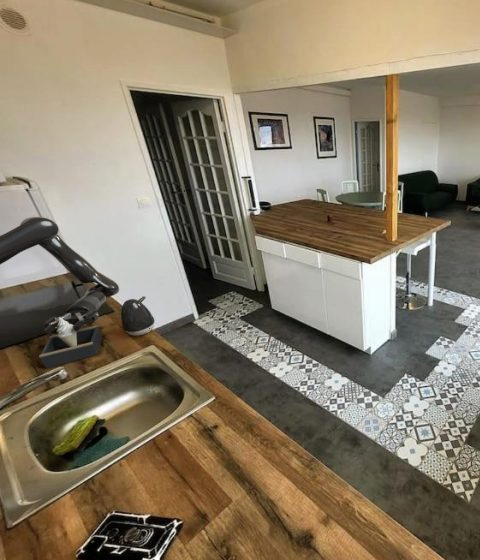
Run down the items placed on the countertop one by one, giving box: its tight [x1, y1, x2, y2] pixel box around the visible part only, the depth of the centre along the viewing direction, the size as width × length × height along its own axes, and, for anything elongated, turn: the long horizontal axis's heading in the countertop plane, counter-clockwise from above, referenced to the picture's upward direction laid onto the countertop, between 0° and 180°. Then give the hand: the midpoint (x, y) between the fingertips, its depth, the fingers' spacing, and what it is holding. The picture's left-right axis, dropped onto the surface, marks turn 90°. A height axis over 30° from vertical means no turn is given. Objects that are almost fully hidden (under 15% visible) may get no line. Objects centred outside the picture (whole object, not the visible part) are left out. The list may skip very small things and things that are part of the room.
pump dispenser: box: [120, 296, 156, 337], centre depth 124 cm, size 10×10×15 cm
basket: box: [38, 325, 103, 369], centre depth 115 cm, size 14×14×5 cm
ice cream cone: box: [55, 316, 78, 347], centre depth 112 cm, size 5×5×15 cm
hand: (61, 330), depth 109 cm, fingers open, 7 cm apart
